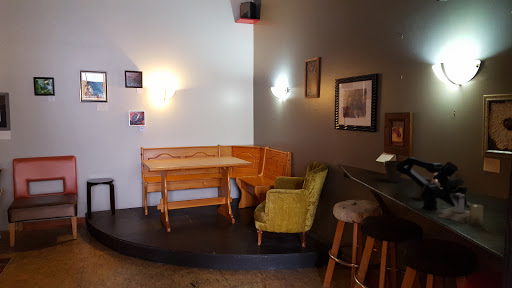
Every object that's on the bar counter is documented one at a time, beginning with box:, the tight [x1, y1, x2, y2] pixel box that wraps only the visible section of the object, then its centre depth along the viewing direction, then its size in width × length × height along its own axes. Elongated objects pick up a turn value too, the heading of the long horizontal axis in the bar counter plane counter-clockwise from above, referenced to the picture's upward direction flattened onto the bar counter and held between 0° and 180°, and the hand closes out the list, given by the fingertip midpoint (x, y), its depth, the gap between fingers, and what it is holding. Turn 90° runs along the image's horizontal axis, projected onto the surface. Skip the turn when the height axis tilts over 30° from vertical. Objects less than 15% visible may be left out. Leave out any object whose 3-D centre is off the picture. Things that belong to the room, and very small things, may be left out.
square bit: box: [451, 193, 466, 214], centre depth 216 cm, size 4×4×13 cm
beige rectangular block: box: [468, 203, 484, 227], centre depth 203 cm, size 6×6×10 cm
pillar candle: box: [413, 176, 432, 201], centre depth 258 cm, size 10×10×15 cm
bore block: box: [437, 207, 470, 224], centre depth 216 cm, size 14×14×3 cm
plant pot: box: [384, 160, 403, 184], centre depth 311 cm, size 15×15×16 cm
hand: (460, 205), depth 214 cm, fingers open, 9 cm apart
